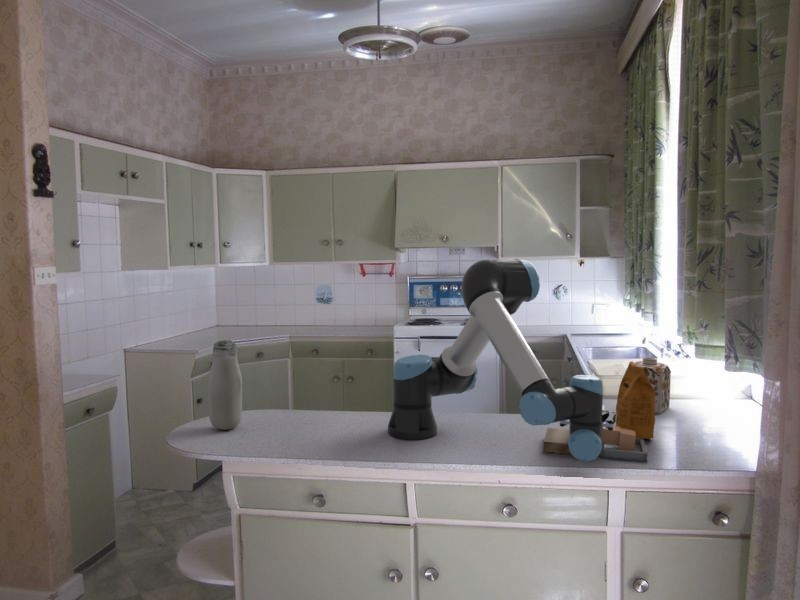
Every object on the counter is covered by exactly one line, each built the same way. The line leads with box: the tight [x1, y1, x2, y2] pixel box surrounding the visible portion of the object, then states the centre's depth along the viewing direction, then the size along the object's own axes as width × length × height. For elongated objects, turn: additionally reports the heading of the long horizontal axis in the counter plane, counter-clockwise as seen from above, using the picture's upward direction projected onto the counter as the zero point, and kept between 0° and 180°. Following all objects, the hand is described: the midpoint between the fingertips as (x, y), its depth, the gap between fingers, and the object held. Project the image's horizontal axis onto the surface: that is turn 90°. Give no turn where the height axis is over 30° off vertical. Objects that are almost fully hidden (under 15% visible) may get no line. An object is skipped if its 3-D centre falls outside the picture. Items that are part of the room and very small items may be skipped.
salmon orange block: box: [618, 428, 636, 451], centre depth 178 cm, size 5×5×4 cm
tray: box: [599, 438, 648, 462], centre depth 179 cm, size 12×14×2 cm
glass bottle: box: [207, 339, 243, 431], centre depth 199 cm, size 10×10×28 cm
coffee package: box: [615, 361, 656, 440], centre depth 193 cm, size 10×12×22 cm
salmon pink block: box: [602, 425, 620, 445], centre depth 181 cm, size 5×5×4 cm
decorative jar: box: [634, 357, 672, 415], centre depth 225 cm, size 12×12×18 cm
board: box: [543, 427, 573, 456], centre depth 183 cm, size 14×14×3 cm
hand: (587, 408), depth 185 cm, fingers closed on ceramic mug, 8 cm apart
